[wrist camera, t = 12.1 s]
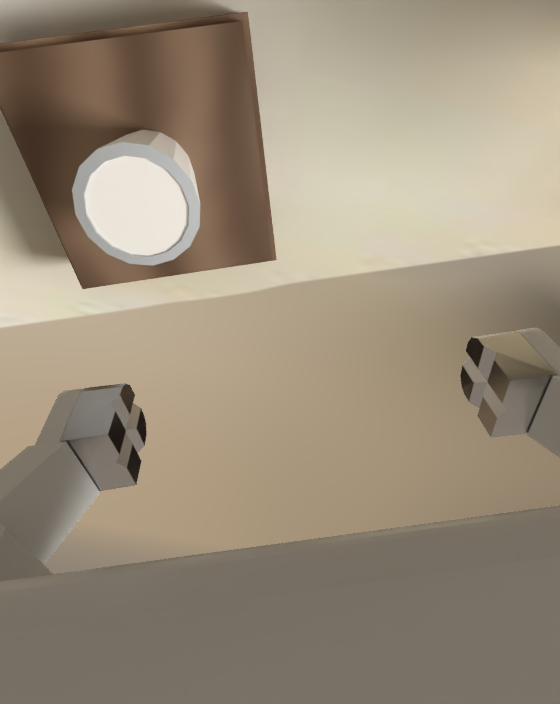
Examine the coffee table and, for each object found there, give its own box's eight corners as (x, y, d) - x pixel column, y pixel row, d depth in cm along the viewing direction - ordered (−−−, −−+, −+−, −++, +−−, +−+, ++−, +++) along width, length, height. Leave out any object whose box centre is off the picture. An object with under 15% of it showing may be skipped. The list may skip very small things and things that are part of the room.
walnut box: (242, 13, 29) (248, 11, 24) (269, 235, 39) (277, 264, 34) (7, 44, 28) (-34, 47, 23) (96, 260, 38) (80, 293, 33)
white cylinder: (94, 207, 29) (67, 248, 24) (105, 101, 26) (75, 121, 20) (191, 235, 32) (186, 279, 26) (214, 140, 28) (214, 168, 22)
